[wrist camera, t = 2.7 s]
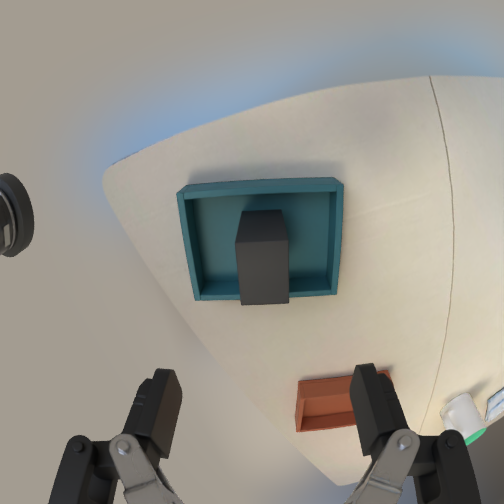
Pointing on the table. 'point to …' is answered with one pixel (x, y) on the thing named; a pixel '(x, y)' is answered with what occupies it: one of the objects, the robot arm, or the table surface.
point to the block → (262, 258)
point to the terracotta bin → (325, 404)
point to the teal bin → (263, 198)
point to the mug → (463, 417)
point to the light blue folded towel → (495, 405)
